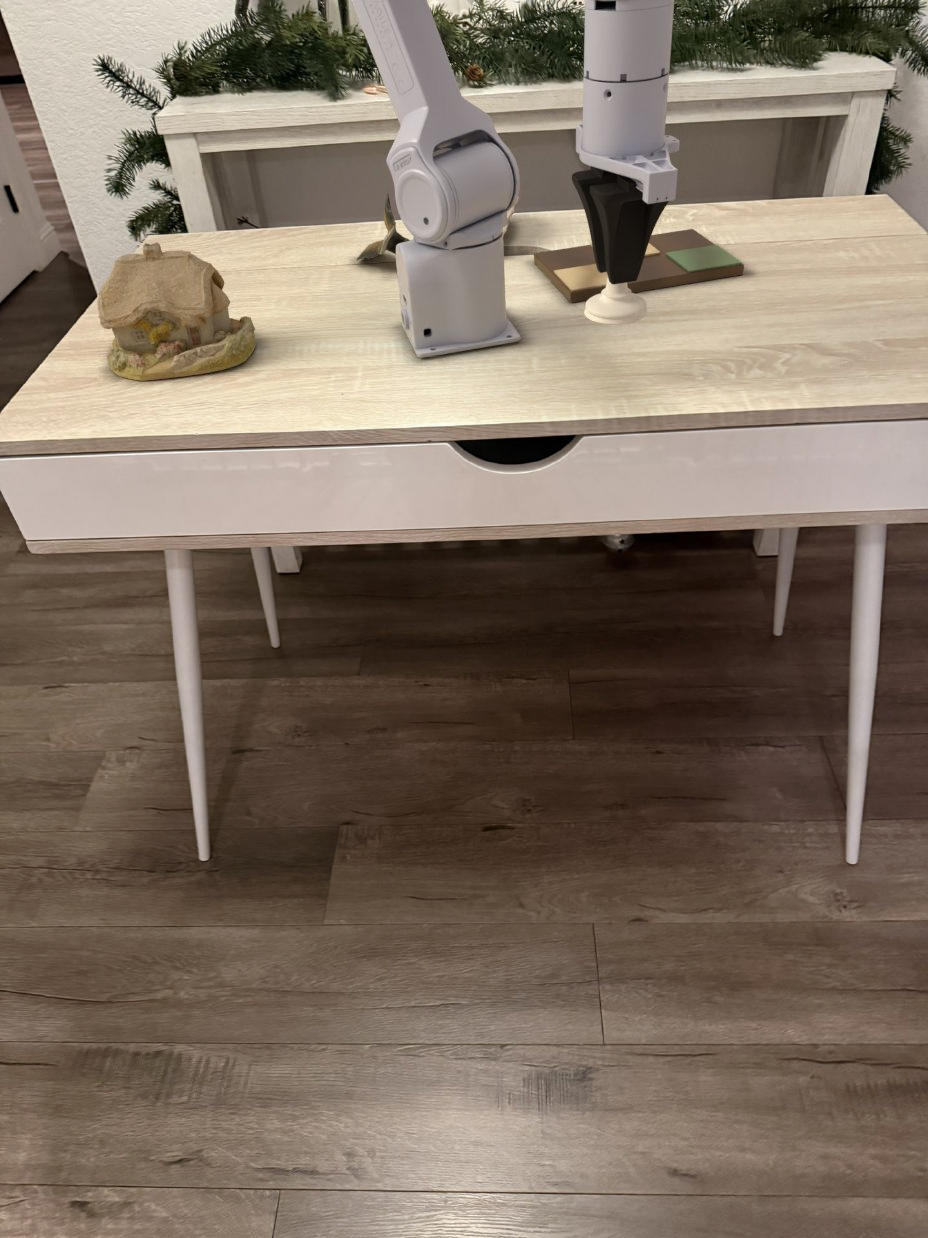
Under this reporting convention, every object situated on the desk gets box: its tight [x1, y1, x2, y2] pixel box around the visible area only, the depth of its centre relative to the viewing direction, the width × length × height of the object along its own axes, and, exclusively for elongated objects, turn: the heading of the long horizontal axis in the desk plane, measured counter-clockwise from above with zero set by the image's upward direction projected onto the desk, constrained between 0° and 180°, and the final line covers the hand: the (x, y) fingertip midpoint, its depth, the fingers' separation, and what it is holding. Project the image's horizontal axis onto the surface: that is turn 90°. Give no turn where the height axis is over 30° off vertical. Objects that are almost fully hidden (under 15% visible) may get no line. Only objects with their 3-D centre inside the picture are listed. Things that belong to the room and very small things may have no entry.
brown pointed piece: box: [356, 193, 411, 261], centre depth 98 cm, size 8×7×9 cm
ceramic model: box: [96, 241, 256, 382], centre depth 82 cm, size 14×11×10 cm
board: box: [533, 228, 745, 303], centre depth 94 cm, size 18×12×1 cm, turn 104°
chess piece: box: [583, 278, 648, 326], centre depth 69 cm, size 5×5×10 cm
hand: (617, 275), depth 71 cm, fingers closed on chess piece
